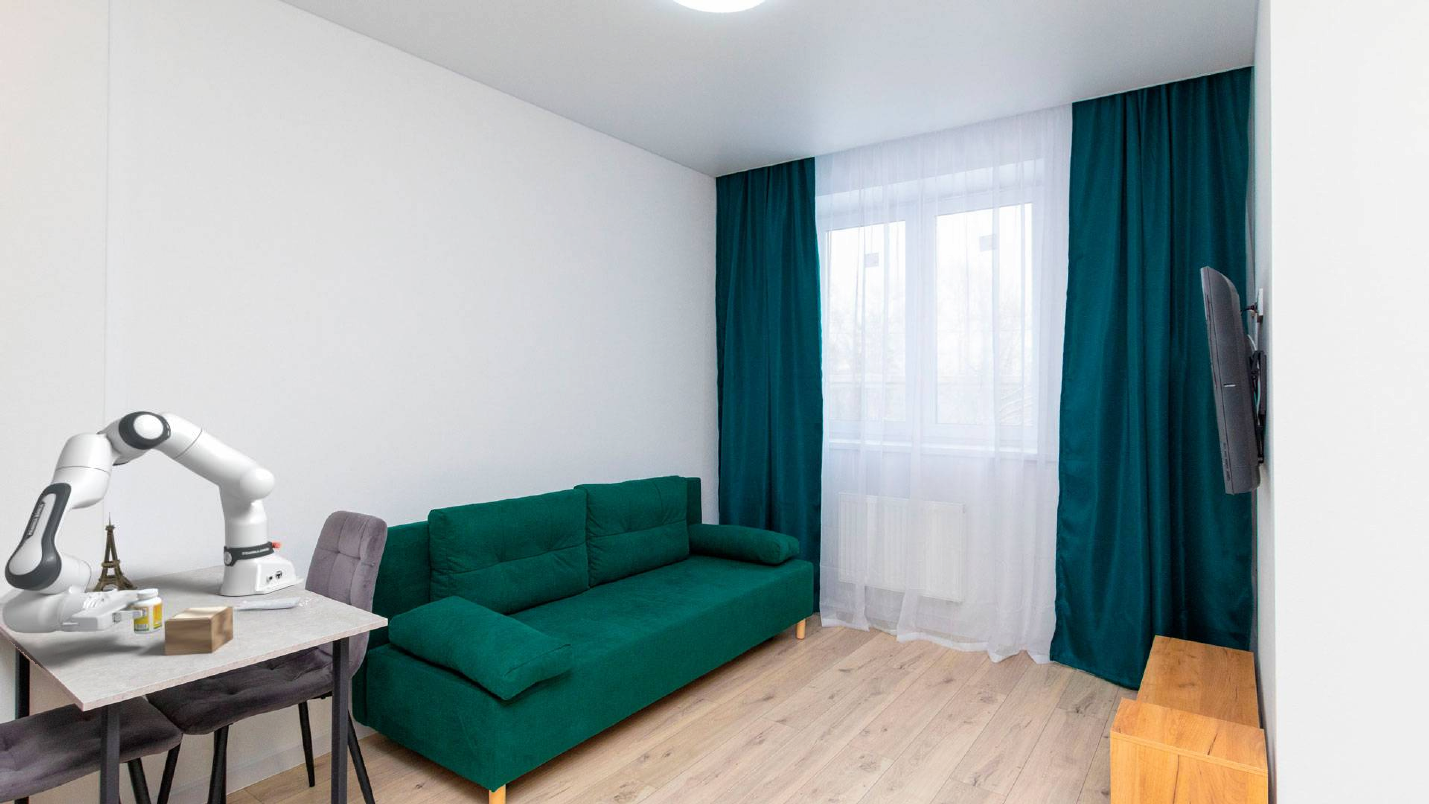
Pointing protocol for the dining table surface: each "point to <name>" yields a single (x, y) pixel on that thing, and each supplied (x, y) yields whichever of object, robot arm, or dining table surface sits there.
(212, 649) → the walnut block
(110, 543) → the eiffel tower
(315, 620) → the dining table surface
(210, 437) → the robot arm
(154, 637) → the dining table surface
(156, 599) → the supplement bottle
